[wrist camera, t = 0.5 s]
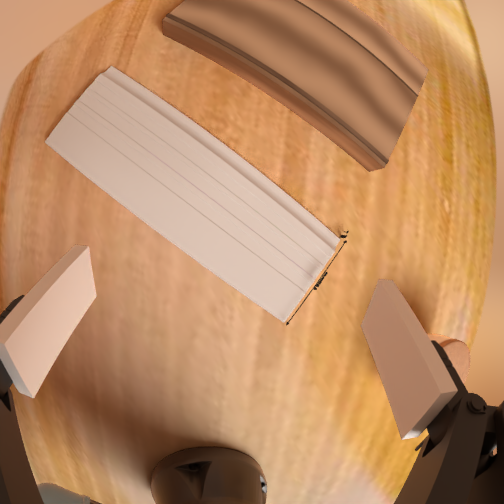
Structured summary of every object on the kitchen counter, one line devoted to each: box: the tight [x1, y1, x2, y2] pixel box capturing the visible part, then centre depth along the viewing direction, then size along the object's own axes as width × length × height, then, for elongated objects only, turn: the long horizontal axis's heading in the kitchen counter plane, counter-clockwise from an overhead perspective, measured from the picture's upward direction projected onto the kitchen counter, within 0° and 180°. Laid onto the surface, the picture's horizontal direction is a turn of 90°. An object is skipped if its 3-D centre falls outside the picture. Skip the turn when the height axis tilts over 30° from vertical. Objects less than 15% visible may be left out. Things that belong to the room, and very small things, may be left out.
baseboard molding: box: [45, 66, 348, 325], centre depth 28 cm, size 31×3×12 cm
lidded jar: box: [427, 334, 470, 384], centre depth 32 cm, size 11×11×9 cm
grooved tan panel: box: [162, 0, 428, 172], centre depth 28 cm, size 18×28×3 cm, turn 57°
